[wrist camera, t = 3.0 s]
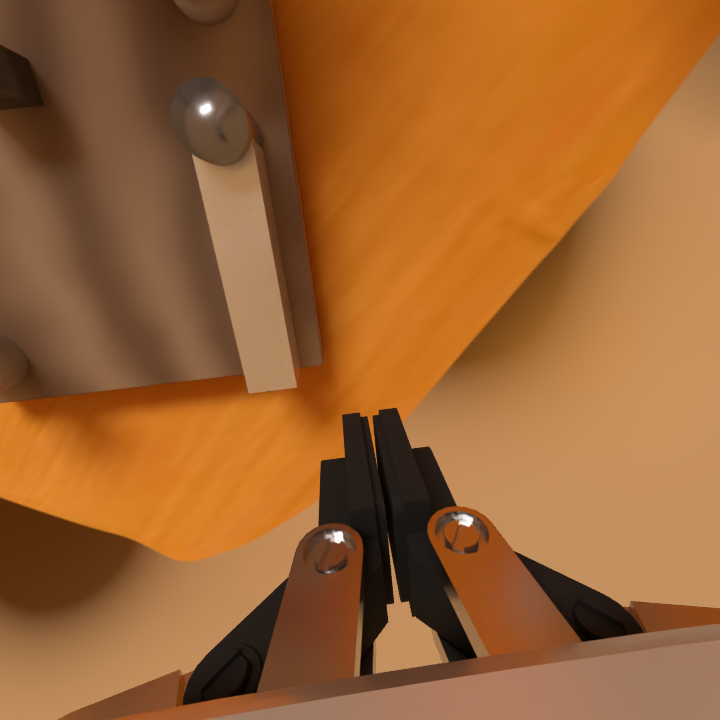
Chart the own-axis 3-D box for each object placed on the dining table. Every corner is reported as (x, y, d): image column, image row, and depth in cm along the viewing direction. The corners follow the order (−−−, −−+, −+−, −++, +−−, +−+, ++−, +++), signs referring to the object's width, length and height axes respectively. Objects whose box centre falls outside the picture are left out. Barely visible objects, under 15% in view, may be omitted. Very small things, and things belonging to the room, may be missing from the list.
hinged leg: (197, 109, 19) (161, 80, 15) (257, 104, 20) (237, 73, 15) (256, 374, 25) (241, 404, 21) (302, 369, 25) (296, 397, 21)
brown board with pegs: (261, -72, 19) (221, -239, 12) (323, 352, 28) (320, 397, 21) (-212, -33, 18) (-547, -189, 11) (4, 390, 27) (-109, 449, 20)
